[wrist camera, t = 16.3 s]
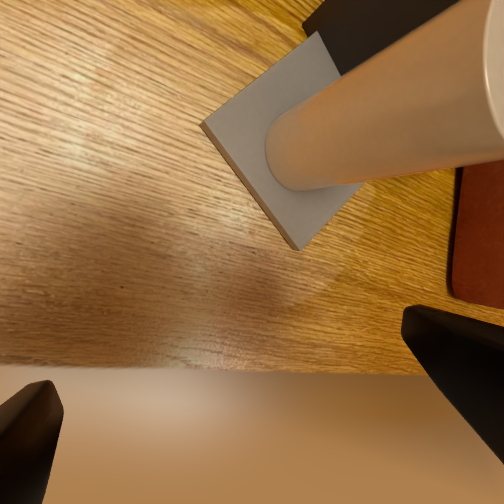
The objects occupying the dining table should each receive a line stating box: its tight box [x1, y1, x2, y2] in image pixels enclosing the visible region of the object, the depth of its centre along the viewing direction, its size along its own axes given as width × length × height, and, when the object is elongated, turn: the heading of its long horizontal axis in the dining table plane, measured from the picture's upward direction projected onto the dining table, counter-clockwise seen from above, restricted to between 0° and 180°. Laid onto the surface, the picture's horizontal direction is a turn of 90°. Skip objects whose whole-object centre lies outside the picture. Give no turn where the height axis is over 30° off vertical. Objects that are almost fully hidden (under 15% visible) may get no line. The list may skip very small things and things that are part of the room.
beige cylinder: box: [265, 0, 504, 192], centre depth 15 cm, size 6×6×13 cm
